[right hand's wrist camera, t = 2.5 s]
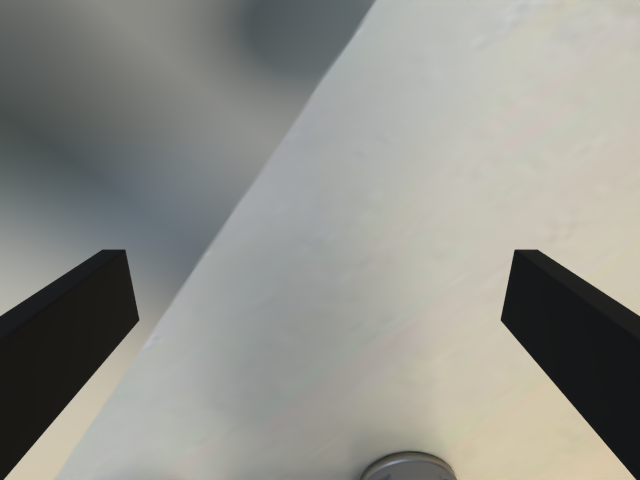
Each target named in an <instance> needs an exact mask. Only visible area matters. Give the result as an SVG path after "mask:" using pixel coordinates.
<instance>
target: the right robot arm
mask: <svg viewBox="0 0 640 480" xmlns="http://www.w3.org/2000/svg"><path fill="white" fill-rule="evenodd" d="M138 321H139V316H138V311H137V306H136V301H135V296H134V291H133V286H132V281H131V276H130V271H129V266H128V261H127V256H126V251H125V250H101V251H100V252H98V253H97V254H95V255H94V256H92V257H91V258H89V259H87V260H86V261H84V262H83V263H81V264H80V265H78V266H77V267H75V268H74V269H72V270H71V271H69V272H67V273H66V274H64V275H63V276H61V277H60V278H58V279H57V280H55V281H54V282H52V283H51V284H49V285H48V286H46V287H44V288H43V289H41V290H40V291H38V292H37V293H35V294H34V295H32V296H31V297H29V298H28V299H26V300H25V301H23V302H21V303H20V304H18V305H17V306H15V307H14V308H12V309H11V310H9V311H8V312H6V313H5V314H3V315H2V316H0V480H4V479H5V477H6V476H7V475H8V474H9V473H10V472H11V470H12V469H13V468H14V467H15V466H16V465H17V463H18V462H19V461H20V460H21V459H22V457H23V456H24V455H25V454H26V453H27V452H28V450H29V449H30V448H31V447H32V446H33V445H34V443H35V442H36V441H37V440H38V439H39V438H40V436H41V435H42V434H43V433H44V432H45V430H46V429H47V428H48V427H49V426H50V425H51V423H52V422H53V421H54V420H55V419H56V418H57V416H58V415H59V414H60V413H61V412H62V411H63V409H64V408H65V407H66V406H67V405H68V403H69V402H70V401H71V400H72V399H73V398H74V396H75V395H76V394H77V393H78V392H79V391H80V389H81V388H82V387H83V386H84V385H85V384H86V382H87V381H88V380H89V379H90V378H91V376H92V375H93V374H94V373H95V372H96V371H97V369H98V368H99V367H100V366H101V365H102V363H103V362H104V361H105V360H106V359H107V358H108V356H109V355H110V354H111V353H112V352H113V351H114V349H115V348H116V347H117V346H118V345H119V344H120V342H121V341H122V340H123V339H124V338H125V337H126V335H127V334H128V333H129V332H130V331H131V329H132V328H133V327H134V326H135V325H136V324H137V322H138ZM501 321H502V322H503V324H504V325H505V326H506V327H507V328H508V329H509V331H510V332H511V333H512V334H513V335H514V337H515V338H516V339H517V340H518V341H519V342H520V344H521V345H522V346H523V347H524V348H525V349H526V351H527V352H528V353H529V354H530V355H531V356H532V358H533V359H534V360H535V361H536V362H537V364H538V365H539V366H540V367H541V368H542V369H543V371H544V372H545V373H546V374H547V375H548V376H549V378H550V379H551V380H552V381H553V382H554V384H555V385H556V386H557V387H558V388H559V389H560V391H561V392H562V393H563V394H564V395H565V396H566V398H567V399H568V400H569V401H570V402H571V403H572V405H573V406H574V407H575V408H576V409H577V411H578V412H579V413H580V414H581V415H582V416H583V418H584V419H585V420H586V421H587V422H588V423H589V425H590V426H591V427H592V428H593V429H594V430H595V432H596V433H597V434H598V435H599V436H600V438H601V439H602V440H603V441H604V442H605V443H606V445H607V446H608V447H609V448H610V449H611V450H612V452H613V453H614V454H615V455H616V456H617V458H618V459H619V460H620V461H621V462H622V463H623V465H624V466H625V467H626V468H627V469H628V470H629V472H630V473H631V474H632V475H633V476H634V477H635V479H636V480H640V316H639V315H637V314H635V313H634V312H632V311H631V310H629V309H628V308H626V307H625V306H623V305H622V304H620V303H619V302H617V301H615V300H614V299H612V298H611V297H609V296H608V295H606V294H605V293H603V292H602V291H600V290H599V289H597V288H596V287H594V286H592V285H591V284H589V283H588V282H586V281H585V280H583V279H582V278H580V277H579V276H577V275H576V274H574V273H573V272H571V271H569V270H568V269H566V268H565V267H563V266H562V265H560V264H559V263H557V262H556V261H554V260H553V259H551V258H549V257H548V256H546V255H545V254H543V253H542V252H540V251H539V250H515V251H514V256H513V261H512V266H511V271H510V276H509V281H508V286H507V291H506V296H505V301H504V306H503V311H502V316H501ZM360 480H457V479H456V476H455V474H454V472H453V471H452V469H451V468H450V467H449V466H448V465H447V464H446V463H445V462H444V461H442V460H440V459H439V458H436V457H434V456H431V455H428V454H423V453H416V452H406V453H398V454H394V455H390V456H387V457H385V458H382V459H380V460H378V461H377V462H375V463H373V464H372V465H371V466H370V467H368V468H367V469H366V470H365V472H364V473H363V474H362V476H361V477H360Z"/></svg>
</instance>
